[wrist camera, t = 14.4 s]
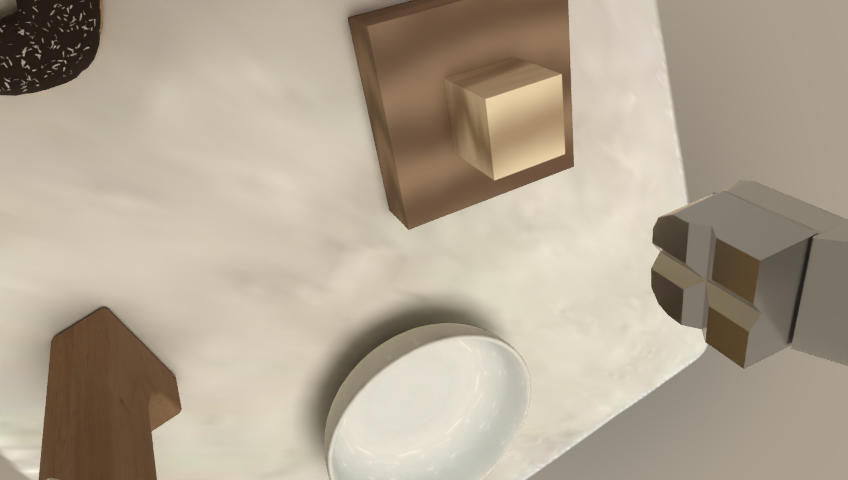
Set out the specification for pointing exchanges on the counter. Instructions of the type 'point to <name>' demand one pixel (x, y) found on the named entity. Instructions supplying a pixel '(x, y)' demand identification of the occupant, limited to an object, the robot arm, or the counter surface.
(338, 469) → the serving bowl
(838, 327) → the robot arm
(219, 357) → the counter surface
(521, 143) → the beech cube
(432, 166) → the plinth
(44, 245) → the counter surface
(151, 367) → the wooden block
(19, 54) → the donut
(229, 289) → the counter surface
